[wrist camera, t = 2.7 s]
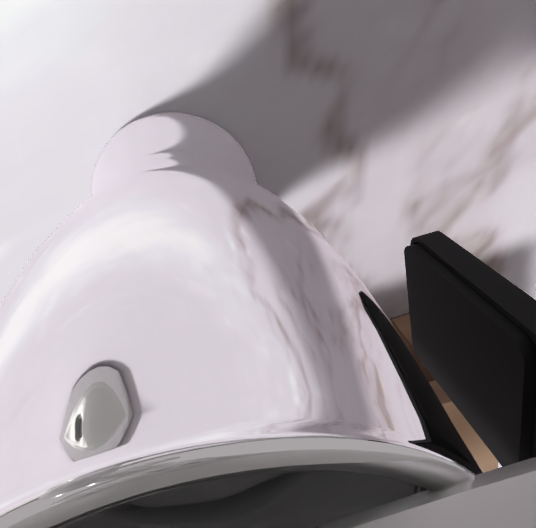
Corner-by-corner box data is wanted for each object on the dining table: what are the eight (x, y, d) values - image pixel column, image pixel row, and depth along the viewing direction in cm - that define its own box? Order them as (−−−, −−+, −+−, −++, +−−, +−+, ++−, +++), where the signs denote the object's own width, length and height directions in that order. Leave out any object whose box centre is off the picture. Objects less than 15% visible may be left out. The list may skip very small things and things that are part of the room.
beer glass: (62, 99, 15) (-472, 531, 2) (267, 96, 17) (656, 364, 4) (94, 281, 19) (-54, 891, 6) (264, 267, 20) (467, 733, 7)
